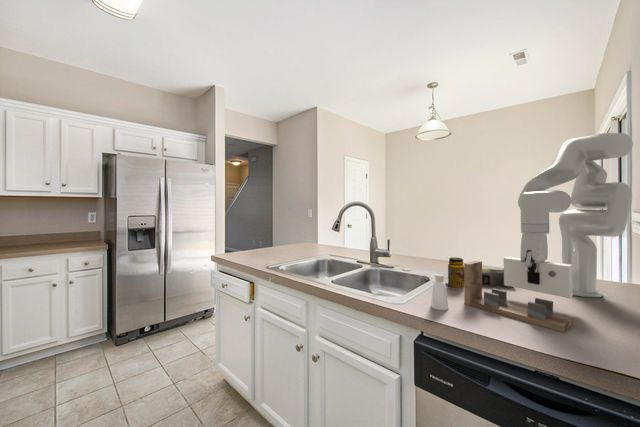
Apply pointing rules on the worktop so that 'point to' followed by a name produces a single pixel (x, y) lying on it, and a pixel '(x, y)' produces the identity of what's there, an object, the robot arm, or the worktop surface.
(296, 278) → the worktop surface
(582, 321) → the worktop surface
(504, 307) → the cabinet base
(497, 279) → the juice carton
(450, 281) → the condiment
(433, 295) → the pepper shaker
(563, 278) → the door panel
